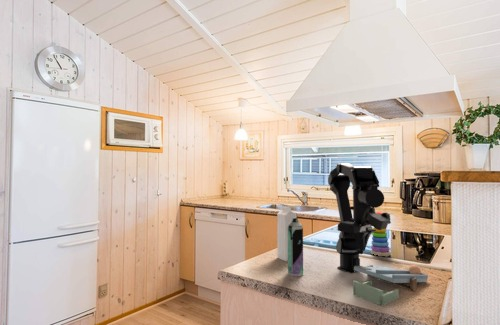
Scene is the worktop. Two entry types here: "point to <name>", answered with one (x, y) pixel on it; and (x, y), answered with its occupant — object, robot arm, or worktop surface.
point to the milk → (283, 231)
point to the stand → (411, 287)
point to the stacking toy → (380, 242)
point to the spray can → (295, 248)
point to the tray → (374, 293)
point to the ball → (414, 270)
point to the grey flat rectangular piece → (391, 274)
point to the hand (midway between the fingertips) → (362, 250)
